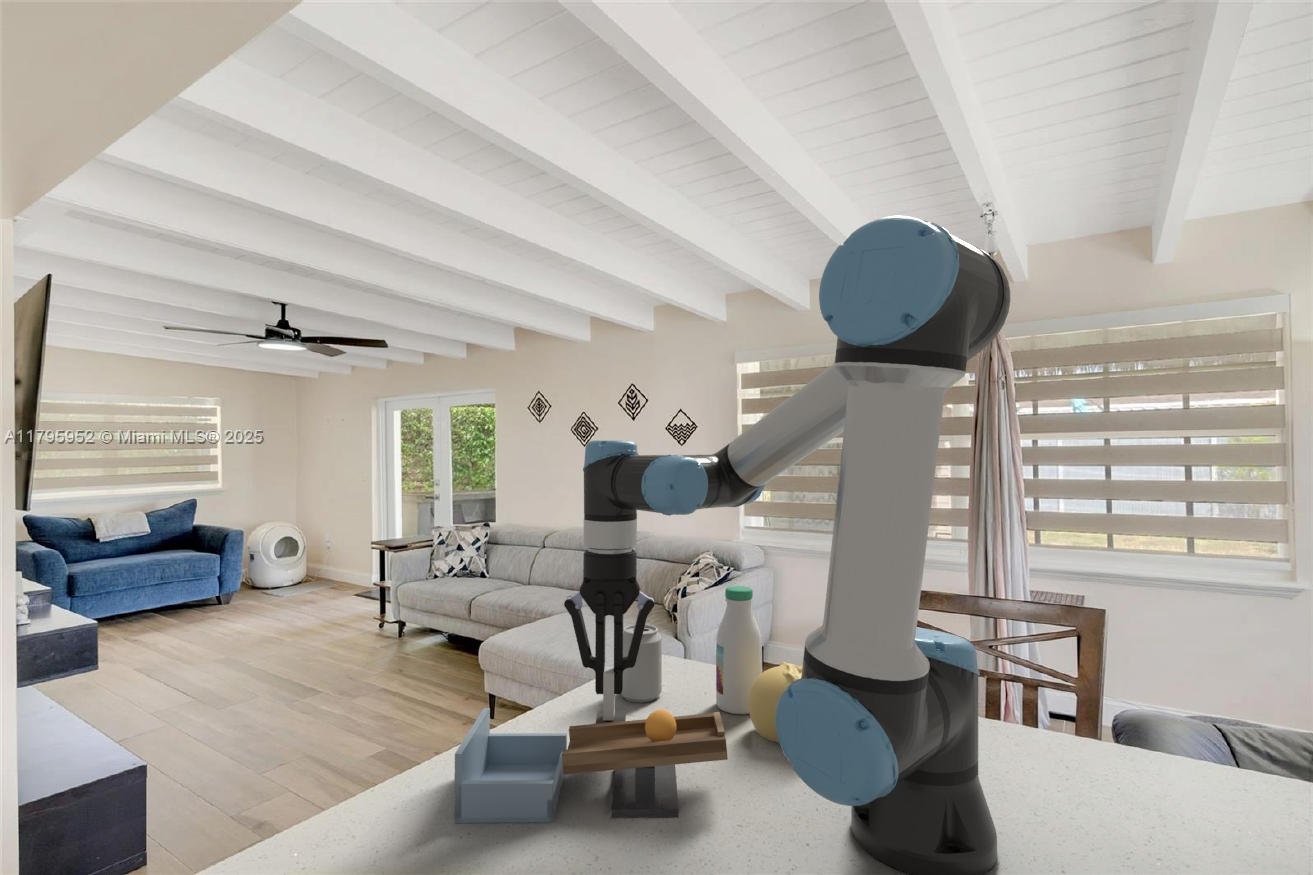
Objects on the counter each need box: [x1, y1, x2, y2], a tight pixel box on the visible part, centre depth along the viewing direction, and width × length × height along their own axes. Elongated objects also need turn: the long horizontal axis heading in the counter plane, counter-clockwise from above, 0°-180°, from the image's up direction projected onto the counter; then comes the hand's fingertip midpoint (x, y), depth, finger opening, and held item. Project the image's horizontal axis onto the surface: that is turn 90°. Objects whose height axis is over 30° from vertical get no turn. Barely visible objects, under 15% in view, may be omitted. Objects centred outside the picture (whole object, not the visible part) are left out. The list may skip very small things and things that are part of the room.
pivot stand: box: [610, 764, 680, 819], centre depth 84 cm, size 12×8×4 cm, turn 1°
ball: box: [645, 709, 676, 742], centre depth 84 cm, size 4×4×4 cm
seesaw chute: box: [562, 708, 728, 775], centre depth 88 cm, size 16×20×3 cm
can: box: [620, 623, 663, 703], centre depth 116 cm, size 8×8×12 cm
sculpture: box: [749, 661, 803, 743], centre depth 100 cm, size 12×12×11 cm
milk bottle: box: [715, 585, 763, 715], centre depth 112 cm, size 8×8×20 cm
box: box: [453, 707, 568, 824], centre depth 84 cm, size 14×11×8 cm
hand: (609, 716), depth 93 cm, fingers closed
